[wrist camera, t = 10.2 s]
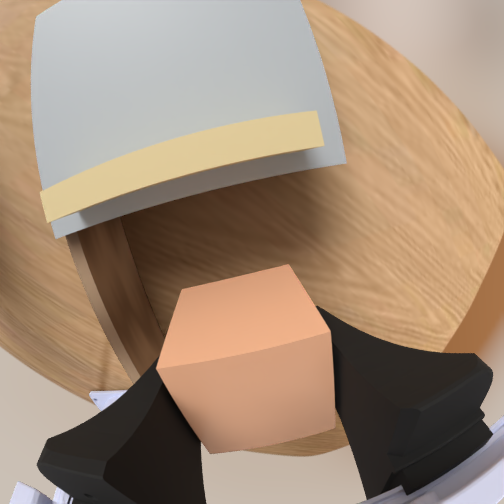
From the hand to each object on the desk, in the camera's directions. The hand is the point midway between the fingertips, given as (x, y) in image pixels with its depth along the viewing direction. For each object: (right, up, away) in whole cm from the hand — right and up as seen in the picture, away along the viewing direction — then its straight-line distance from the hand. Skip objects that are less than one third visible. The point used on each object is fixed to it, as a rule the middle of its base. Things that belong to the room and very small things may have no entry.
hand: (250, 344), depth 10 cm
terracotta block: (0, +1, +1) cm, 2 cm away
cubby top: (-4, +12, -1) cm, 13 cm away
